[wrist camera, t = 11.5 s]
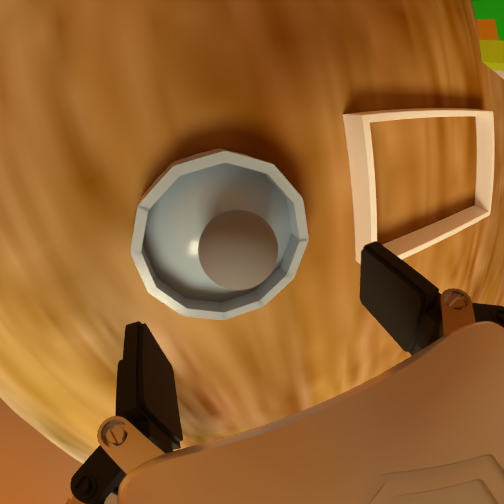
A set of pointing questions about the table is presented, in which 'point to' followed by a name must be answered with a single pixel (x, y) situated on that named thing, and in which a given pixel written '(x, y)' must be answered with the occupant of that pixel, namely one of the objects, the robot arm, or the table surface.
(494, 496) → the robot arm
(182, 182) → the bowl
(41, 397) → the table surface
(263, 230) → the ball
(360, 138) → the white rectangular frame
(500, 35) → the puzzle toy
